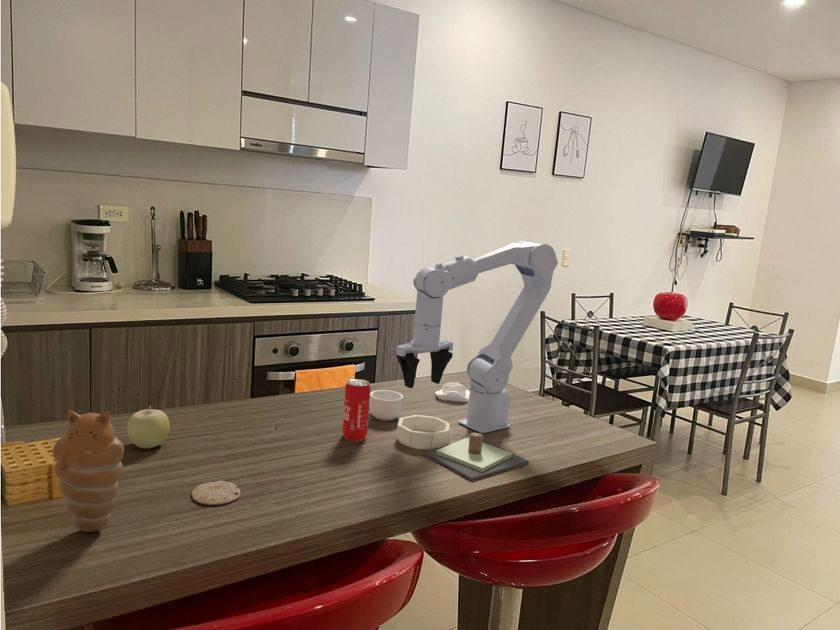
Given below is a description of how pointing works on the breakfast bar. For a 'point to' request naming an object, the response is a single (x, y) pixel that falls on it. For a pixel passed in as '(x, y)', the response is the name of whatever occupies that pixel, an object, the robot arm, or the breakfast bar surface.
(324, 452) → the breakfast bar surface
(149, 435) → the fruit
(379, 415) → the teacup
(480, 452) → the lid
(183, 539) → the breakfast bar surface
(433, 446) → the bowl
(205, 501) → the flatbread
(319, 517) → the breakfast bar surface
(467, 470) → the mat
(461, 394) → the white rounded piece
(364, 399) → the beverage can
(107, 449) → the cat ice cream
